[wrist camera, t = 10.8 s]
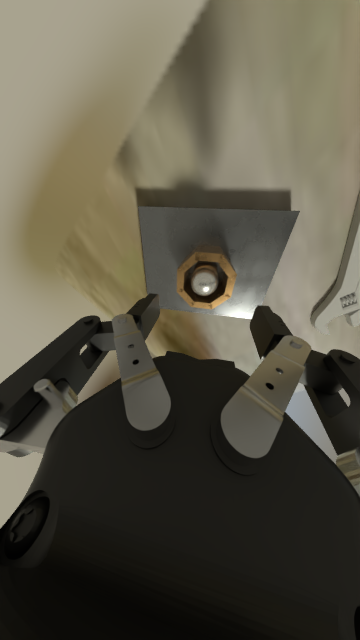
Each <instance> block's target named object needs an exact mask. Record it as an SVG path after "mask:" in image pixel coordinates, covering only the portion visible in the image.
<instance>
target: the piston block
mask: <svg viewBox="0 0 360 640" xmlns="http://www.w3.org/2000/svg"><path fill="white" fill-rule="evenodd" d="M138 209H139V218H140V228H141V237H142V247H143V256H144V265H145V275H146V284H147V294H149V293H152V294H158V295H159V302H160V308H162V309H171V310H179V311H188V312H196V313H205V314H213V315H222V316H230V317H238V318H247V319H252V317H253V314H254V311H255V309H256V307H257V306H258V305H262V302H263V300H264V298H265V295H266V293H267V290H268V288H269V285H270V283H271V280H272V278H273V276H274V273H275V271H276V268H277V266H278V263H279V261H280V258H281V256H282V254H283V251H284V249H285V246H286V244H287V241H288V239H289V236H290V234H291V232H292V229H293V227H294V224H295V222H296V219H297V217H298V214H299V212H300V211H280V210H246V209H213V208H179V207H146V206H138ZM199 245H206V246H220V247H221V249H222V250H223V252H224V253H225V255H226V256H227V257H228V259H229V260H230V262H231V263H232V265H233V267H234V269H235V272H236V274H237V276H236V280H235V284H234V288H233V291H232V295H231V298H229V299H228V300H226V301H224V302H223V303H221V304H220V305H218V306H216V307H215V308H213V309H204V308H196V307H190V306H189V304H188V303H187V302H186V301H185V300H184V299H183V298H182V297H181V296H180V295H179V294H178V293H177V269H178V267H179V266H180V264H181V263H182V261H183V260H184V259H185V258H186V257H187V256H188V255H189V254H190V253H191V252H192V251H193V250H194V249H195V248H196V247H197V246H199ZM223 271H224V270H223V269H222V268H221V266H220V265H219V263H218V262H209V261H197V262H196V263H195V264H194V265H193V266H192V267H190V268H189V278H190V279H191V287H192V289H193V291H194V292H195V293H196V294H198V295H201V296H207V295H210V294H212V293H213V292H214V291H215V290H216V288H217V286H218V282H219V281H220V280H222V276H223Z"/></svg>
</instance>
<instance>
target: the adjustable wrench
mask: <svg viewBox="0 0 360 640" xmlns="http://www.w3.org/2000/svg"><path fill="white" fill-rule="evenodd" d="M344 314H345V317H346V320H347V323H348V324H350V325H351V326H353V327H355V326H358V325H359V324H360V193H359V197H358V200H357V204H356V208H355V212H354V216H353V220H352V224H351V227H350V231H349V235H348V239H347V243H346V247H345V251H344V254H343V258H342V262H341V266H340V270H339V274H338V278H337V281H336V283H335V286H334V287H333V289H332V291H331V292H330V293H329V295H328V296H327V297H326V299H325V300H324V301H323V302H322V304H321V305H320V306H319V307H318V308H317V309H316V310H315V311H314V312H313V314H312V316H311V320H310V321H311V324H312V326H313V327H314V328H315V329H316V330H317V331H318V332H320V333H321V334H325V335H329V334H330V332H329V329H328V327H327V324H328V323H329V322H330V321H332V320H333V319H334V318H336V317H338V316H341V315H344Z"/></svg>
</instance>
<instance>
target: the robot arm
mask: <svg viewBox="0 0 360 640" xmlns="http://www.w3.org/2000/svg"><path fill="white" fill-rule="evenodd" d="M159 315H160V302H159V295H158V294H152V293H149V294H148V295H147V297H146V298H143V299H141V300H139V301H138V302H137V303H136V304H135V305H134V306H133V307H132V308H131V309H130V310H129V311H128V312H127V313H126V314H120V315H117V316H115V317H114V318H113V319H112V321H106V322H101V321H100V318H99V317H98V316H87V317H84V318H81V319H80V320H79V321H77V322H76V323H75V324H74V325H72V326H71V327H70V328H69V329H67V330H66V331H65V332H64V333H62V334H61V335H60V336H59V337H57V338H56V339H55V340H54V341H52V342H51V343H50V344H49V345H48V346H46V347H45V348H44V349H43V350H41V351H40V352H39V353H38V354H36V355H35V356H34V357H33V358H31V359H30V360H29V361H28V362H27V363H25V364H24V365H23V366H22V367H20V368H19V369H18V370H17V371H16V372H14V373H13V374H12V375H10V376H9V377H8V378H7V379H6V380H5V381H3V382H2V383H1V384H0V452H6V453H9V454H11V455H13V456H16V457H23V456H26V455H28V454H30V453H32V452H38V453H43V454H44V455H43V458H42V461H41V463H40V466H39V468H38V471H37V473H36V475H35V478H34V480H33V482H32V484H31V486H30V488H29V490H28V492H27V493H26V495H25V497H24V499H23V500H22V502H21V503H20V505H19V506H18V508H17V509H16V510H15V512H14V513H13V514H12V515H11V517H10V518H9V519H8V520H7V522H6V523H5V524H4V525H3V526H2V528H1V529H0V640H360V359H359V358H357V357H355V356H354V355H352V354H350V353H348V352H345V351H342V350H336V349H333V350H331V351H329V353H328V354H327V355H326V354H323V353H320V352H317V351H313V350H311V346H310V345H309V344H308V343H307V342H306V341H304V340H303V339H301V338H298V337H296V336H293V335H292V333H291V332H290V330H289V329H288V328H287V326H286V325H285V323H284V322H283V320H282V319H281V317H279V316H278V315H277V314H275V313H273V312H272V310H271V309H270V307H269V306H261V305H258V306H257V307H256V309H255V311H254V314H253V317H252V319H251V322H250V330H251V333H252V336H253V339H254V342H255V345H256V348H257V351H258V354H259V357H260V360H263V361H262V363H261V364H260V365H259V366H258V368H257V369H256V370H255V371H254V373H253V374H252V375H251V376H249V375H248V374H246V373H245V372H243V371H242V370H240V369H237V368H235V364H234V362H232V361H226V360H220V359H206V360H199V359H196V358H193V357H191V356H188V355H185V354H183V353H177V352H171V351H167V352H166V355H165V356H159V357H155V358H153V359H152V357H151V355H150V353H149V350H148V348H147V345H146V343H145V340H146V338H147V337H148V335H149V333H150V331H151V330H152V328H153V326H154V324H155V323H156V321H157V319H158V317H159ZM85 344H86V345H87V348H86V349H85V350H84V351H83V353H82V354H81V355H80V350H81V349H82V347H83V346H84V345H85ZM110 350H116V353H117V359H118V365H119V370H120V376H121V378H120V379H118V380H116V381H115V382H113V383H112V384H110V385H108V386H107V387H105V388H104V389H102V390H100V391H99V392H97V393H96V394H94V395H93V396H91V397H89V398H88V399H86V400H85V401H83V402H82V403H80V404H78V405H77V402H78V396H77V395H78V394H79V392H80V391H81V390H82V388H83V387H84V385H85V384H86V383H87V381H88V380H89V378H90V377H91V376H92V374H93V373H94V371H95V370H96V369H97V367H98V366H99V364H100V363H101V362H102V360H103V359H104V357H105V356H106V355H107V353H108V352H109V351H110ZM298 382H299V383H301V384H304V387H305V389H306V391H307V393H308V395H309V397H310V399H311V401H312V403H313V406H314V408H315V409H316V411H317V414H318V416H319V418H320V420H321V422H322V424H323V426H324V428H325V430H326V433H327V434H328V437H329V439H330V440H331V443H332V445H333V447H334V449H335V451H336V453H337V455H338V457H337V459H336V464H335V463H334V462H333V461H332V460H331V459H330V458H329V457H328V456H327V455H326V454H325V453H324V452H323V451H322V450H321V449H320V448H319V447H318V446H317V445H316V444H315V443H314V442H313V441H312V439H311V438H310V437H309V436H308V435H307V434H306V433H305V432H304V431H303V430H302V429H301V428H300V427H299V426H298V425H297V424H296V423H295V422H294V421H293V420H292V419H291V418H290V417H289V416H288V415H287V413H286V412H285V410H286V408H287V406H288V404H289V401H290V399H291V397H292V395H293V393H294V391H295V389H296V386H297V384H298ZM342 388H343V389H344V390H345V391H346V393H347V394H348V396H349V398H350V401H351V402H350V406H349V407H348V406H347V405H346V403H345V402H344V400H343V399H342V397H341V396H340V394H339V393H338V391H339V390H341V389H342ZM76 405H77V406H76Z"/></svg>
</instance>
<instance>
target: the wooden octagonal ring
mask: <svg viewBox="0 0 360 640" xmlns="http://www.w3.org/2000/svg"><path fill="white" fill-rule="evenodd" d="M197 261H209V262H218V263H219V265H220V266H221V268H222V269H223V270H224V271H223V276H222V280H220V281H219V282H218V286H217V288H216V290H215V291H214V292H213V293H212V294H210V295H207V296H201V295H198V294H196V293H195V292H194V291H193V289H192V287H191V279H190V278H189V268H190V267H192V266H193V265H194V264H195V263H196V262H197ZM236 276H237V274H236V272H235V269H234V267H233V265H232V263H231V262H230V260H229V259H228V257H227V256H226V255H225V253H224V252H223V250H222V249H221V247H220V246H206V245H199V246H197V247H196V248H195V249H194V250H193V251H192V252H191V253H190V254H189V255H188V256H187V257H186V258H185V259H184V260H183V261H182V263H181V264H180V266H179V267H178V269H177V293H178V294H179V295H180V296H181V297H182V298H183V299H184V300H185V301H186V302H187V303H188V304H189V306H190V307H196V308H204V309H213V308H215V307H216V306H218V305H220V304H221V303H223V302H224V301H226V300H228V299H229V298H231V295H232V291H233V288H234V284H235V280H236Z"/></svg>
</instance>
